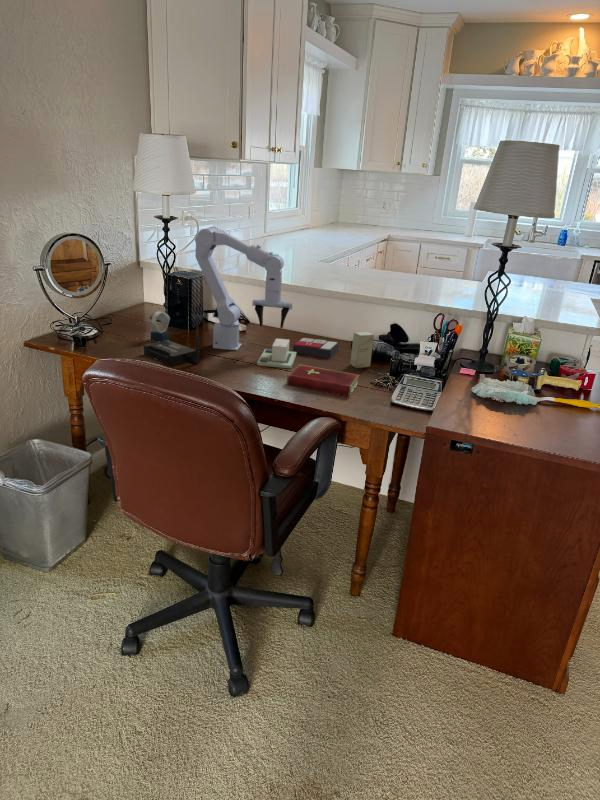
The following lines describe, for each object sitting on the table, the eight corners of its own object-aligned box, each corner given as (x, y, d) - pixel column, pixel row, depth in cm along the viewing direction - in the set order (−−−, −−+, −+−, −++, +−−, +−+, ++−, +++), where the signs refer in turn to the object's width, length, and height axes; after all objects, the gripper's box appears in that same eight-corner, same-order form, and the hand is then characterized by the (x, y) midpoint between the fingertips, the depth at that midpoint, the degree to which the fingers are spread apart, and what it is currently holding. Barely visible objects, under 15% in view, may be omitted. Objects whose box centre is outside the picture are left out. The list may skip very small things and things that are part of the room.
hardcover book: (349, 398, 174) (351, 386, 172) (286, 386, 180) (287, 374, 178) (358, 386, 185) (359, 374, 183) (298, 375, 190) (299, 363, 189)
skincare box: (356, 368, 199) (359, 335, 195) (349, 364, 203) (353, 332, 198) (370, 366, 202) (374, 334, 198) (363, 362, 206) (367, 330, 201)
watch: (172, 338, 217) (172, 311, 212) (159, 343, 210) (158, 315, 206) (160, 336, 219) (160, 308, 214) (147, 341, 212) (146, 312, 208)
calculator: (302, 336, 220) (338, 341, 215) (302, 347, 222) (338, 351, 217) (292, 343, 210) (330, 348, 206) (292, 354, 212) (330, 359, 207)
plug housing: (271, 360, 198) (272, 345, 195) (275, 352, 206) (276, 338, 204) (285, 362, 197) (286, 346, 195) (288, 354, 206) (289, 339, 204)
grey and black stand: (139, 356, 196) (137, 308, 190) (171, 348, 207) (170, 303, 200) (176, 371, 185) (175, 321, 179) (208, 362, 195) (208, 314, 189)
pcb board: (257, 365, 195) (257, 354, 194) (264, 351, 210) (265, 341, 208) (290, 368, 194) (291, 357, 193) (296, 354, 209) (297, 344, 208)
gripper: (251, 290, 198) (250, 327, 203) (291, 293, 197) (289, 331, 202) (255, 286, 204) (253, 322, 209) (294, 290, 203) (291, 326, 208)
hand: (271, 326), depth 206 cm, fingers open, 7 cm apart
